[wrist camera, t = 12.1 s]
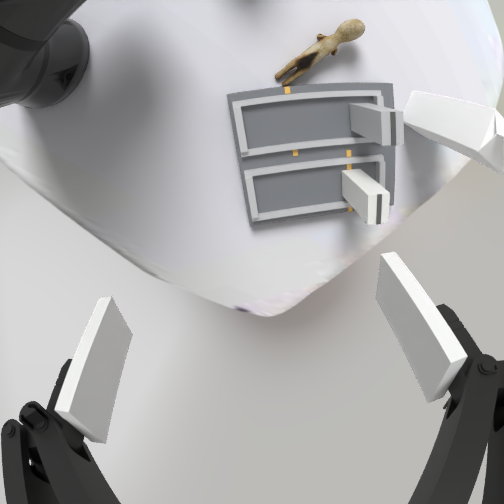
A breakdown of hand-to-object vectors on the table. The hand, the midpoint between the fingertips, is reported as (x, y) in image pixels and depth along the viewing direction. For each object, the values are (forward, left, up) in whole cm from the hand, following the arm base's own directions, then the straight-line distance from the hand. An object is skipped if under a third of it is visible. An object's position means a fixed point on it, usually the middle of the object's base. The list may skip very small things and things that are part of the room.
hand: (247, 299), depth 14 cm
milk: (+30, +3, -33) cm, 45 cm away
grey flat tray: (+12, -2, -33) cm, 35 cm away
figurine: (+13, +13, -33) cm, 38 cm away
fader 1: (+18, +3, -31) cm, 36 cm away
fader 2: (+16, -7, -31) cm, 35 cm away
